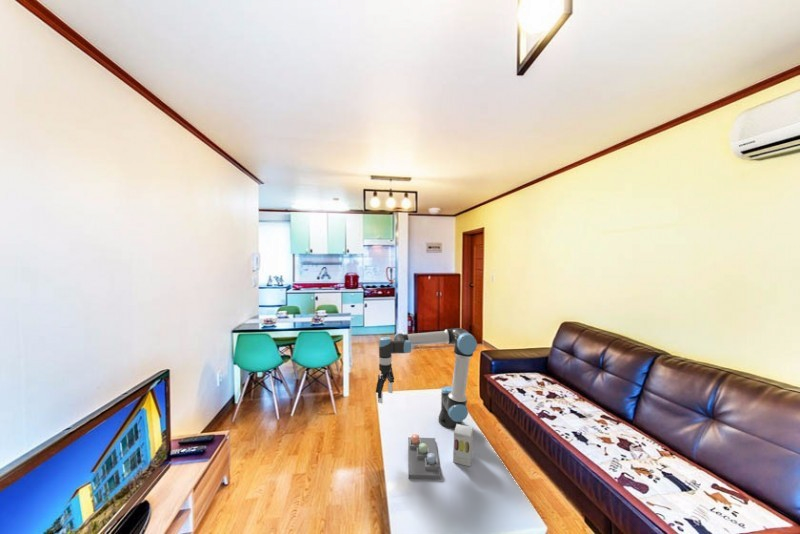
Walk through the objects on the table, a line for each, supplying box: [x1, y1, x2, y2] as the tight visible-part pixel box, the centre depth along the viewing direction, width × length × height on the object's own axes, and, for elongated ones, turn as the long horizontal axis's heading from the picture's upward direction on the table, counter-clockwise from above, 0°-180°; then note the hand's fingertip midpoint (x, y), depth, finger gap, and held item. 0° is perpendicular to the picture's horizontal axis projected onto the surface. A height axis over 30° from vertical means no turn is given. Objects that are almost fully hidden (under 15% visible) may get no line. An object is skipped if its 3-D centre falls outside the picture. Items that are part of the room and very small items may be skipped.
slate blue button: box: [427, 453, 436, 465], centre depth 154 cm, size 4×4×4 cm
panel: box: [407, 437, 441, 480], centre depth 163 cm, size 16×30×4 cm, turn 179°
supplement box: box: [452, 424, 474, 467], centre depth 162 cm, size 10×9×17 cm
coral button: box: [411, 433, 420, 445], centre depth 171 cm, size 4×4×4 cm
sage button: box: [419, 443, 427, 454], centre depth 162 cm, size 4×4×4 cm
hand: (385, 397), depth 179 cm, fingers open, 13 cm apart
